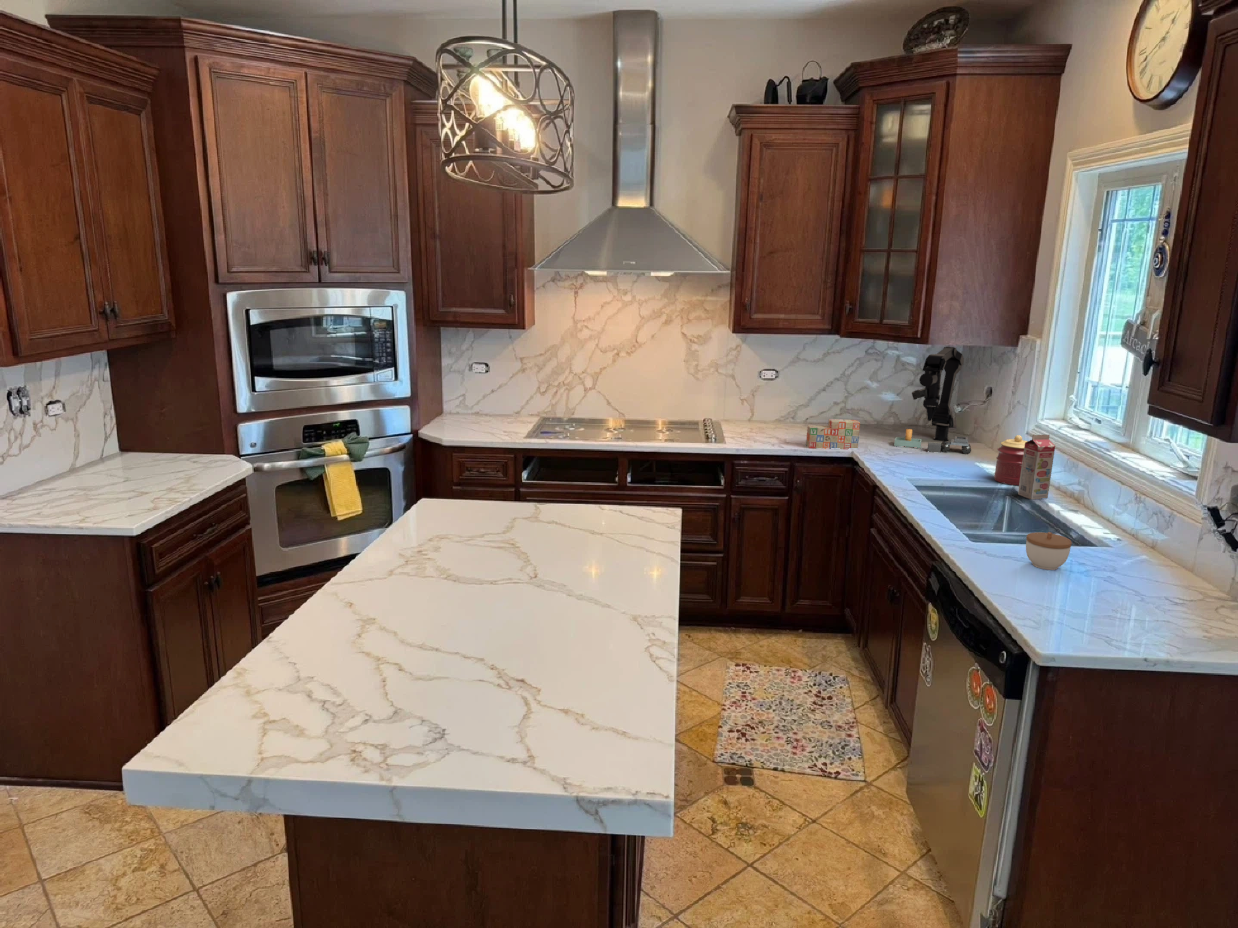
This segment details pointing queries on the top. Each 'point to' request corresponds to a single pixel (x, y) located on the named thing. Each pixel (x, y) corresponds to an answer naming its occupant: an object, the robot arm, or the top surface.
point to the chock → (934, 447)
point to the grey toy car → (957, 441)
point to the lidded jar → (1047, 550)
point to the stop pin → (908, 435)
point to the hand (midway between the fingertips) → (929, 418)
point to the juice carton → (1036, 467)
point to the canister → (1010, 461)
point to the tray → (907, 442)
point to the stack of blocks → (834, 434)
